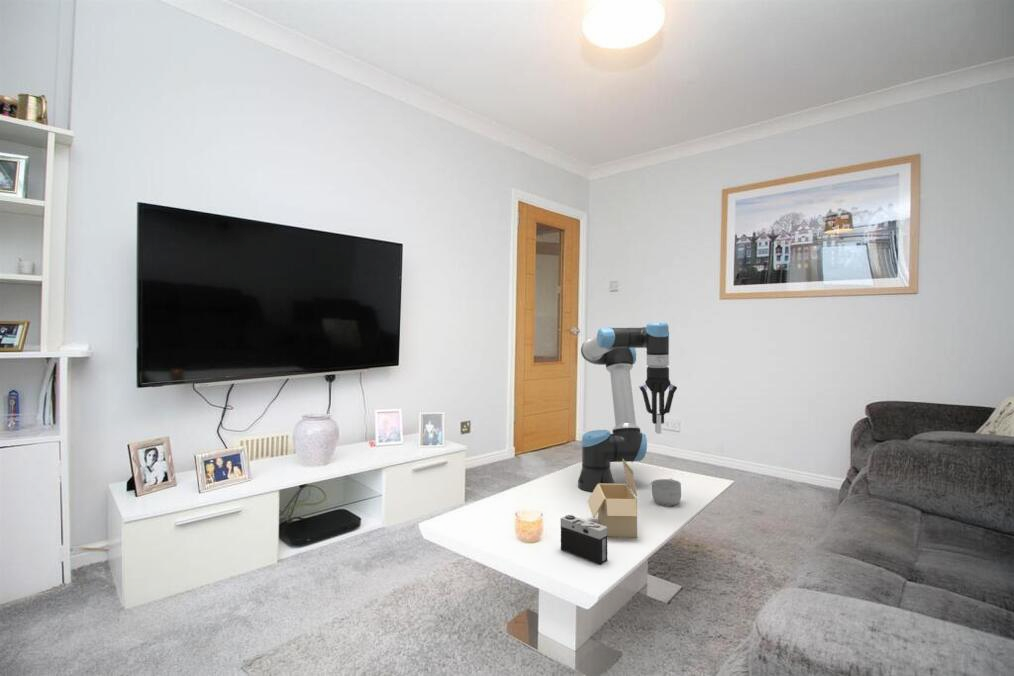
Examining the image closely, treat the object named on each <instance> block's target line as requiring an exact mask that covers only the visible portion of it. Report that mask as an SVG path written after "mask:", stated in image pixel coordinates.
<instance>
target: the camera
mask: <svg viewBox="0 0 1014 676" xmlns="http://www.w3.org/2000/svg"><path fill="white" fill-rule="evenodd" d="M560 550H561V551H564V552H566V553H568V554H571V555H574V556H576V557H578V558H581V559H584V560H587V561H589V562H591V563H594V564H597V565H600V566H601V565H603V564H604V563H606V562H608V537H607V527H606V526H603V525H600V523H595V522H593V521H591V520H586V519H583V518H580V517H577V516H574V515H572V514H566V515H564V516H562V517H560Z"/></svg>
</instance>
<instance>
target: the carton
mask: <svg viewBox="0 0 1014 676" xmlns="http://www.w3.org/2000/svg"><path fill="white" fill-rule="evenodd" d="M587 504H588V507H589V510H590V513H591V515H592V516H591V517H592V518H593V519H595V517H596V516H597V520H598V522H599V524H600V525H603V526H606V527H607V538H623V539H625V538H627V539H628V538H629V539H631V538H632V539H633V538H634V539H638V516H639V515H638V499H637V496H636V495H635V494H634V492H633V491H632V489H631V488H630V486H629V485H628V483H615V484H597V486H596V487H595V489H594V491H593V492H591V495H590V496H589V498H588V499H587Z"/></svg>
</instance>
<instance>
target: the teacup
mask: <svg viewBox="0 0 1014 676" xmlns="http://www.w3.org/2000/svg"><path fill="white" fill-rule="evenodd" d="M650 485H651V495H652V499H653V500H654V501H655V502H657V504H659V505H662V506H674V505H676V504H677V503H679V502H680V501H681V500H682V483H681V482H680V481H679V480H675V479H673V478H670V477H669V478H659V479H654V480H652V481H651V482H650Z"/></svg>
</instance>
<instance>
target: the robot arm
mask: <svg viewBox="0 0 1014 676" xmlns="http://www.w3.org/2000/svg"><path fill="white" fill-rule="evenodd" d="M642 348H643V349H646V365H647V367H646V380H645V383H644V384H642V385H639V386H638V388H639V390H640V391H641V394H642V397H643V401H644V405H645V409H646V412H647V413H648V414H651V418H652V419H651V421H652V424H654V426H655V428H654V429H655V431H654V432H655V434H657V435H658V434H662V425H663V424H664V425H665V415H666V414H670V411H671V407H672V403H673V399H674V394H675V392H676V391H677V389H678V387H677V386H676V385H675V384H674V385H673V384H672V383H671V381H670V368H669V365H670V329H669V324H668V323H667V322H648V323H647V324H646V326H645V327H643V326H642V327H601V328H599V329H598V331H597V333H596V336H595V338H590V339H589V338H588V339H587V340H585V341H584V342H583V343H582V345H581V348H580V354H581V356H582V358H583V359H584V360H585V361H587V362H588V363H590V364H593V365H599V366H600V365H601V366H602V365H604V366H605V369H606V371H608V372H609V374H610V383H611V393H612V394H611V395H612V403H613V414H614V424H615V426H614V427H613V429H612V433H611V431H610V430H607V429H594V430H588V431H587V432H585V433H584V434H582V437H581V438H582V439H581V463H582V464H581V467H582V468H581V469H580V470H581V471H580V472H579V473H580V474H579V476H578V481H577V487H578V488H579V489H580V490H583V491H585V492H591V493H593V491H594V489H595V487H596V486H597V484H616V483H615V480H614V477H613V474H612V470H611V463H621V462H622V463H623V461H622V459H624V460H625V462H626V463H627V462H630V463H634V462H642V461H643V460H644V459H645V457H646V454H647V448H648V441H647V439H648V438H647V436H646V434H645V433H643V432H642V431H641V427H639V426H638V425H637V420H636V414H635V405H634V404H635V403H634V397H633V389H632V379H631V370H632V369H633V367H634V365H635V363H636V361H637V351H636V349H642ZM647 388H648V389H647ZM647 390H649V391H650V392H651V403H650V400H649V395H648V392H647ZM667 390H668V394H667V398H666V401H665V392H666V391H667ZM657 402H658V403H657ZM657 404H658V405H659V407H658V405H657ZM658 411H659V413H658Z"/></svg>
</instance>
